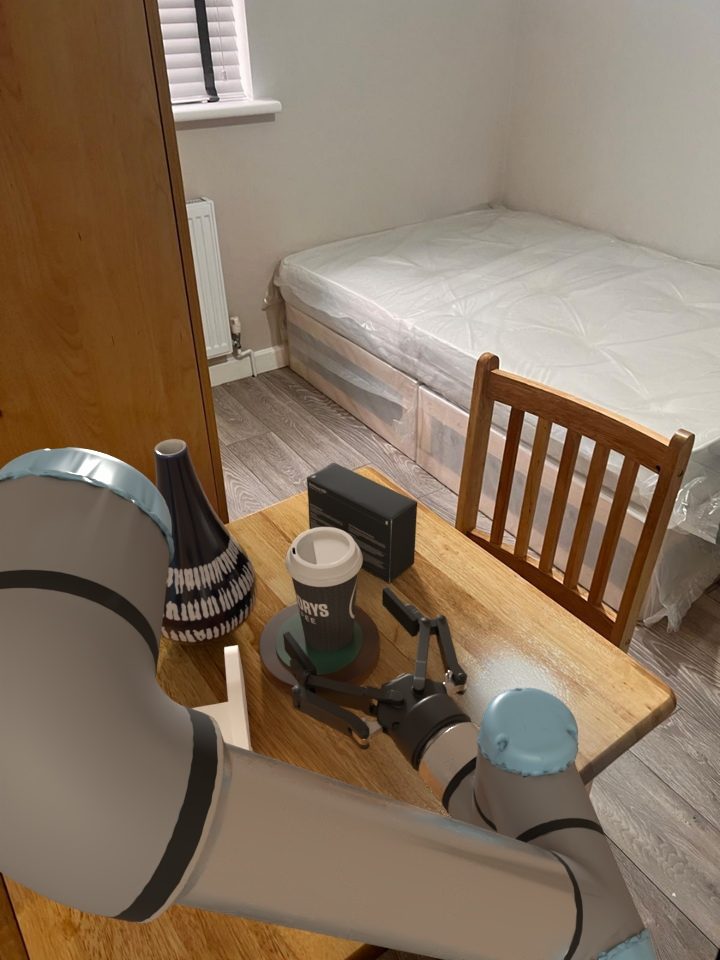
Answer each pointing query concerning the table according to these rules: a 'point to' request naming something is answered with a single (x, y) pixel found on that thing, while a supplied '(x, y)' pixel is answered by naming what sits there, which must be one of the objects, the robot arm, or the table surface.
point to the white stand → (232, 704)
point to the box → (365, 518)
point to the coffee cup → (325, 585)
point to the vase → (200, 558)
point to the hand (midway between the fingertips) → (337, 617)
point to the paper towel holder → (336, 665)
